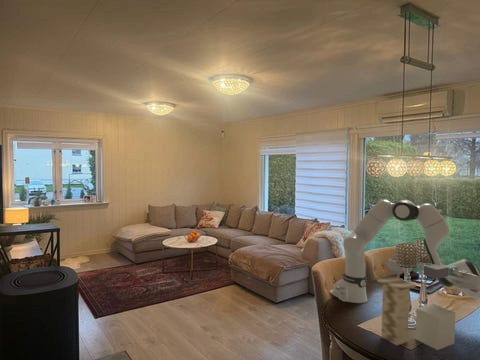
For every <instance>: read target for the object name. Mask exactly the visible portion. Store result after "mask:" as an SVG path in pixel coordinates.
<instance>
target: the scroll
mask: <svg viewBox="0 0 480 360" xmlns="http://www.w3.org/2000/svg"><path fill="white" fill-rule="evenodd" d="M400 276H401V277H404V273H402V274H401V275H400ZM410 276H411V278H410V279H412V280H413V279H415V278H419V277H420V276H421V275H420V273H418V271H415V270H412V271H411V272H410Z"/></svg>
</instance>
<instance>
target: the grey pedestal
mask: <svg viewBox="0 0 480 360" xmlns="http://www.w3.org/2000/svg"><path fill="white" fill-rule="evenodd" d="M415 313H416V316H415V317H416V318H415V340H416V341H418V342H421V344H424V345H426V346H428V347H430V348H432V349H435V350H436V351H440V350H441V349H444V348H447V347H450V346H452V345H455V335H456V334H455V331H456V312H455V311H453V310H450V309H447V308H445V307H443V306H440V305H437V304H434V303H432V304H428V305H424V306H421V307H417V308H416V312H415Z"/></svg>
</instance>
